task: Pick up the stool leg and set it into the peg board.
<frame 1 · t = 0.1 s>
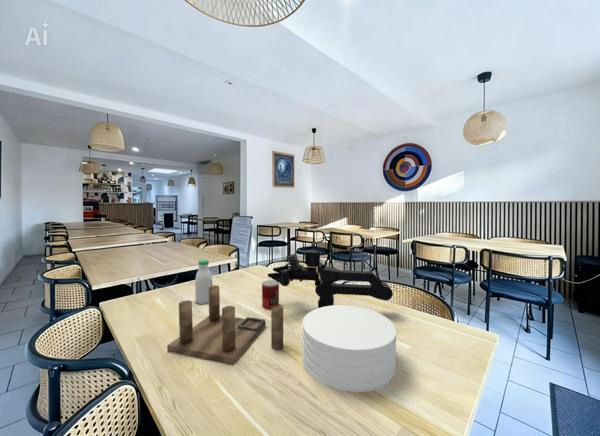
hand: (270, 272, 116), 17 cm above the table, tool horizontal, fingers open, 9 cm apart
plate stack: (347, 359, 80), on the table
peg board: (221, 337, 92), on the table
stool leg: (277, 346, 86), on the table
milk bottle: (204, 301, 125), on the table
canned food: (270, 306, 120), on the table
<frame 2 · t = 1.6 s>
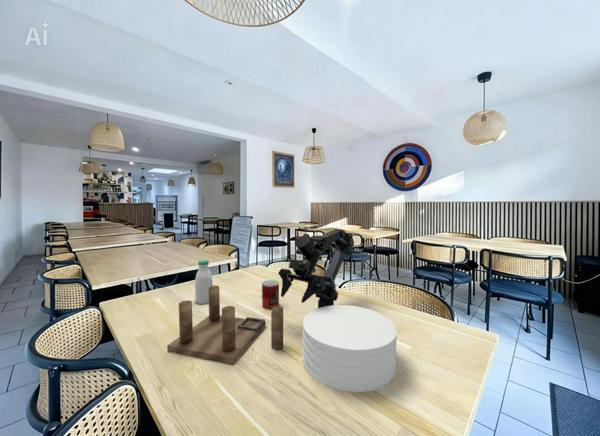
hand: (291, 299, 92), 14 cm above the table, tool tilted 45°, fingers open, 9 cm apart
nothing on the table moved.
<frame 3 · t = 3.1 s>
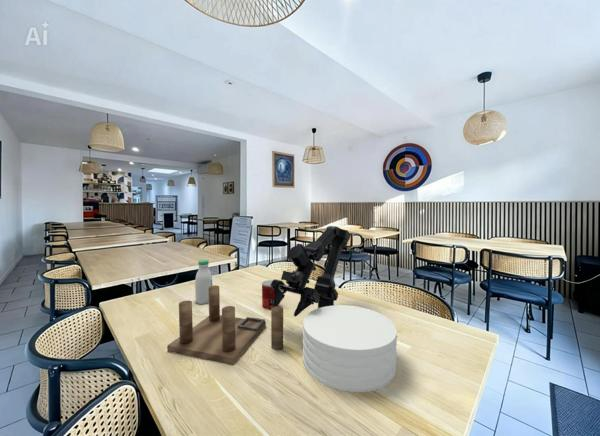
hand: (283, 312, 89), 10 cm above the table, tool tilted 45°, fingers open, 9 cm apart
nothing on the table moved.
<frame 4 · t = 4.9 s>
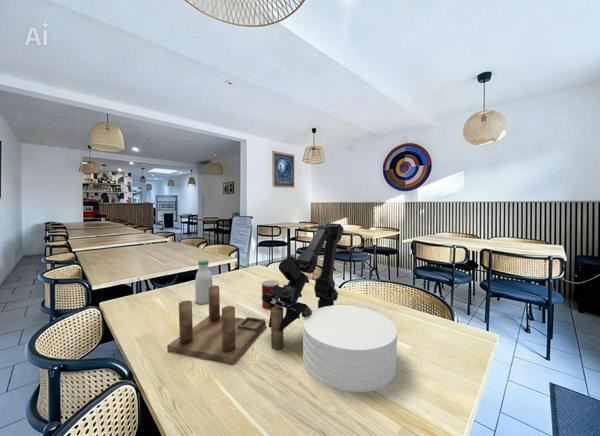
hand: (274, 329, 85), 7 cm above the table, tool tilted 45°, fingers closed on stool leg, 4 cm apart
stool leg: (277, 346, 86), on the table, touching gripper
everything else where it was.
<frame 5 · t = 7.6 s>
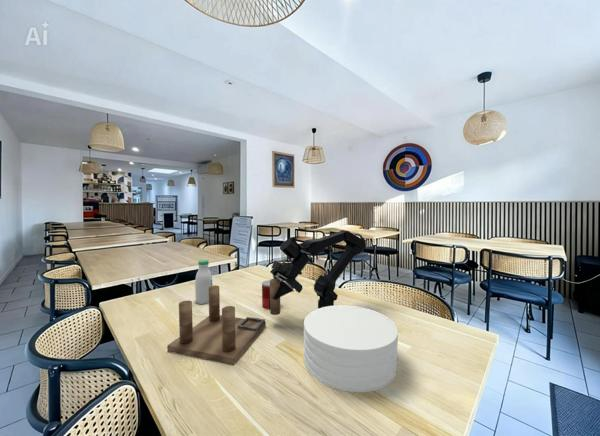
hand: (271, 297, 100), 11 cm above the table, tool tilted 45°, fingers closed on stool leg, 4 cm apart
stool leg: (275, 312, 101), point 5 cm above the table, touching gripper
everything else where it was.
when the fingers open (10 cm above the table, at t = 10.1 s): stool leg drops 1 cm, resting on peg board.
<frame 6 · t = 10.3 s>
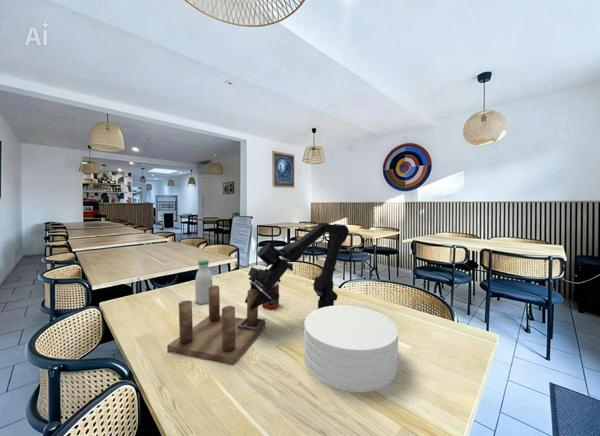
hand: (248, 305, 96), 10 cm above the table, tool tilted 45°, fingers open, 6 cm apart
stool leg: (252, 324, 97), point 2 cm above the table, touching peg board
everything else where it was.
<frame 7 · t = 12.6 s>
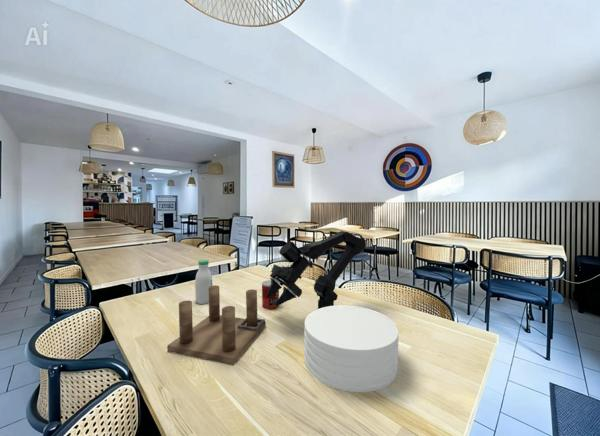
hand: (271, 301, 100), 10 cm above the table, tool tilted 45°, fingers open, 9 cm apart
nothing on the table moved.
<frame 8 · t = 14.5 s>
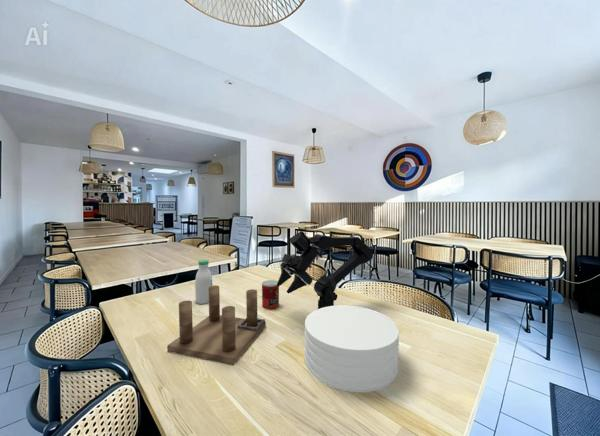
hand: (282, 289, 103), 14 cm above the table, tool tilted 45°, fingers open, 9 cm apart
nothing on the table moved.
at the end: stool leg 0.2 cm from the target spot on the peg board, point 2.0 cm above the peg board's base; stool leg tilted 1°; the gripper is holding nothing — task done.
